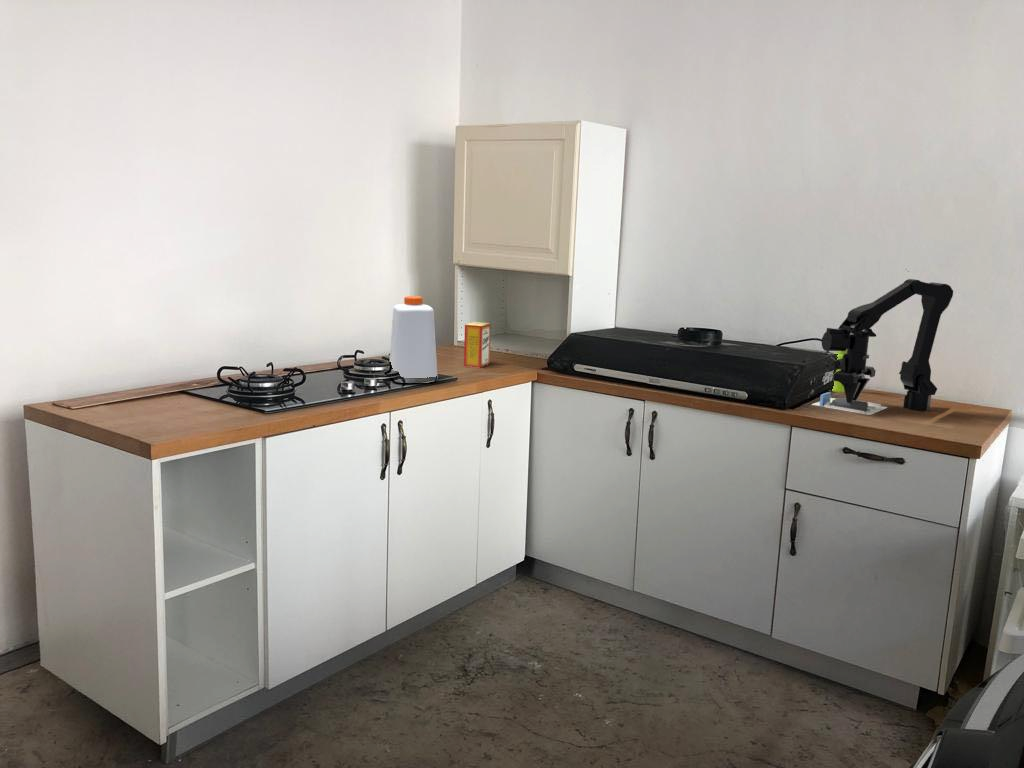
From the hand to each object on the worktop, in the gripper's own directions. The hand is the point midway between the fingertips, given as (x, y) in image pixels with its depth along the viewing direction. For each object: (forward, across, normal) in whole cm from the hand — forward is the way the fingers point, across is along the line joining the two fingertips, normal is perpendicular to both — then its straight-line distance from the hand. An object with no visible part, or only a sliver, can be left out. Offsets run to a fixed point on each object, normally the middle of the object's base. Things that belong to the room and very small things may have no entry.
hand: (851, 402), depth 259 cm
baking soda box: (+3, +32, -127) cm, 131 cm away
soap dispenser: (+3, -27, -14) cm, 31 cm away
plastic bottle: (+3, +69, -121) cm, 139 cm away
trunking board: (+3, -4, -2) cm, 6 cm away
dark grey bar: (+2, 0, 0) cm, 2 cm away
